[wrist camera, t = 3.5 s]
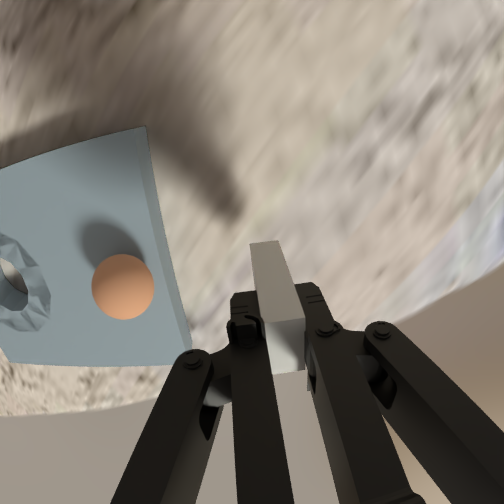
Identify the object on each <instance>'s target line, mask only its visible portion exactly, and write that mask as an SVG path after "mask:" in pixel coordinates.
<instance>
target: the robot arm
mask: <svg viewBox="0 0 504 504" xmlns="http://www.w3.org/2000/svg"><path fill="white" fill-rule="evenodd" d="M250 251H251V259H252V268H253V276H254V285H255V291H247V292H239V293H234V295H233V296H232V298H231V300H230V312H231V319H230V320H229V321H228V322H227V326H226V328H227V333H228V338H229V344H228V345H227V346H226V347H225V348H224V349H222V350H220V351H218V352H215V353H213V354H210V355H209V353H207V352H206V351H204V350H200V349H191V350H188V351H185V352H183V353H182V354H180V355H179V356H178V357H177V359H176V360H175V362H174V364H173V367H172V369H171V371H170V373H169V375H168V377H167V379H166V381H165V384H164V386H163V388H162V390H161V392H160V394H159V396H158V399H157V401H156V403H155V405H154V407H153V409H152V412H151V414H150V416H149V418H148V420H147V422H146V425H145V427H144V429H143V431H142V433H141V436H140V438H139V440H138V442H137V444H136V447H135V449H134V451H133V453H132V455H131V458H130V460H129V462H128V464H127V467H126V469H125V471H124V473H123V476H122V478H121V480H120V482H119V485H118V487H117V489H116V492H115V494H114V496H113V498H112V501H111V503H110V504H195V503H196V499H197V496H198V493H199V489H200V486H201V482H202V479H203V476H204V473H205V469H206V466H207V462H208V459H209V456H210V452H211V449H212V445H213V442H214V439H215V435H216V432H217V428H218V425H219V421H220V418H221V414H222V411H223V407H224V404H227V403H229V402H232V414H233V433H234V453H235V469H236V486H237V501H238V504H294V499H293V493H292V488H291V481H290V475H289V469H288V464H287V459H286V452H285V446H284V440H283V434H282V429H281V423H280V417H279V411H278V405H277V400H276V393H275V388H274V382H273V376H272V375H273V374H279V373H286V372H293V371H299V370H305V362H306V366H307V369H308V382H307V391H310V390H311V394H312V398H313V402H314V405H315V409H316V413H317V417H318V420H319V424H320V428H321V432H322V436H323V440H324V444H325V448H326V452H327V456H328V459H329V463H330V467H331V471H332V475H333V479H334V483H335V487H336V492H337V496H338V500H339V503H340V504H426V503H425V501H424V499H423V498H422V497H421V496H420V495H418V494H416V493H414V492H413V491H412V489H411V487H410V485H409V482H408V480H407V477H406V475H405V472H404V469H403V467H402V464H401V461H400V459H399V457H398V454H397V451H396V449H395V446H394V444H393V441H392V439H391V436H390V434H389V432H388V429H387V426H386V424H385V422H384V419H383V417H384V418H385V419H386V420H387V422H388V423H389V424H390V426H391V427H392V428H393V429H394V431H395V432H396V433H397V434H398V436H399V437H400V438H401V440H402V441H403V442H404V443H405V445H406V446H407V447H408V449H409V450H410V451H411V452H412V454H413V455H414V456H415V457H416V459H417V460H418V461H419V463H420V464H421V465H422V466H423V468H424V469H425V470H426V472H427V473H428V474H429V475H430V477H431V478H432V479H433V481H434V482H435V483H436V485H437V486H438V487H439V488H440V490H441V491H442V492H443V493H444V494H445V496H446V497H447V499H448V500H449V501H450V503H451V504H504V432H503V431H502V430H501V429H500V428H499V427H498V426H497V425H496V424H495V423H494V422H493V421H492V420H491V419H490V418H489V417H488V416H487V415H486V414H485V413H484V412H483V411H482V410H481V409H480V408H479V407H478V406H477V405H476V404H475V403H474V402H473V401H472V400H471V399H470V398H469V396H467V394H466V393H464V392H463V391H462V390H461V389H460V388H459V387H458V386H457V385H456V384H455V383H454V382H453V381H452V380H451V379H450V378H449V377H448V376H447V375H446V374H445V373H444V372H443V371H442V370H441V369H440V368H439V367H438V366H437V365H436V364H435V363H434V362H433V361H432V360H431V359H430V358H429V357H428V356H427V355H425V354H424V353H423V352H422V351H421V350H420V349H419V348H418V347H417V346H416V345H415V344H414V343H413V342H412V341H411V340H410V339H408V337H406V336H405V335H404V334H403V333H402V332H401V331H400V330H399V329H398V328H397V327H396V326H394V325H393V324H391V323H388V322H385V321H377V322H373V323H371V324H369V325H368V326H367V327H366V329H365V331H350V330H346V329H344V328H343V327H342V326H341V324H340V323H338V322H336V321H334V319H333V317H332V315H331V312H330V310H329V308H328V306H327V304H326V301H325V299H324V297H323V296H322V293H321V291H320V289H319V287H318V286H316V285H315V284H314V283H312V282H308V283H301V284H294V283H293V280H292V278H291V275H290V272H289V269H288V266H287V264H286V261H285V258H284V255H283V252H282V250H281V247H280V244H279V241H278V240H276V241H268V242H260V243H252V244H250ZM382 415H383V417H382Z"/></svg>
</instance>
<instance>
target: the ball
mask: <svg viewBox="0 0 504 504" xmlns="http://www.w3.org/2000/svg"><path fill="white" fill-rule="evenodd" d="M91 290H92V295H93V298H94V300H95V303H96V304H97V306H98V307H99V308H100V309H101V310H102V311H103V312H104V313H105V314H107V315H108V316H110V317H112V318H115V319H121V320H126V319H132V318H135V317H137V316H139V315H140V314H142V313H143V312H144V311H145V310H146V309H147V308H148V306H149V305H150V303H151V301H152V299H153V295H154V280H153V277H152V274H151V272H150V270H149V269H148V267H147V266H146V265H145V264H144V263H143V262H142V261H141V260H140V259H138V258H136V257H134V256H131V255H127V254H117V255H113V256H110V257H108V258H106V259H105V260H104V261H102V262H101V263H100V264H99V266H98V267H97V268H96V270H95V272H94V274H93V278H92V283H91Z"/></svg>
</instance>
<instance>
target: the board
mask: <svg viewBox="0 0 504 504" xmlns="http://www.w3.org/2000/svg"><path fill="white" fill-rule="evenodd" d="M117 254H127V255H131V256H134V257H136V258H138V259H140V260H141V261H142V262H143V263H144V264H145V265H146V266H147V267H148V269H149V270H150V272H151V274H152V277H153V280H154V295H153V299H152V301H151V303H150V305H149V306H148V308H147V309H146V310H145V311H144V312H143V313H142V314H140V315H139V316H137V317H135V318H132V319H126V320H121V319H115V318H112V317H110V316H108V315H107V314H105V313H104V312H103V311H102V310H101V309H100V308H99V307H98V306H97V304H96V303H95V300H94V298H93V295H92V290H91V283H92V278H93V274H94V272H95V270H96V268H97V267H98V266H99V264H100V263H101V262H102V261H104V260H105V259H106V258H108V257H110V256H113V255H117ZM0 258H2V259H4V260H6V261H8V262H10V263H11V264H12V265H13V266H14V267H15V268H16V269H17V270H18V272H19V273H20V274H21V275H22V277H23V279H24V282H25V284H26V286H27V289H28V294H25V293H23V292H21V291H19V290H17V289H15V288H14V287H13V286H12V285H11V284H10V283H9V282H8V280H7V279H6V278H5V276H4V273H3V271H2V269H1V266H0V347H1V349H2V351H3V352H4V354H5V355H6V357H7V359H8V360H9V362H12V363H23V364H37V365H55V366H87V367H124V366H157V365H173V364H174V362H175V360H176V359H177V357H178V356H179V355H180V354H182V353H183V352H185V351H188V350H191V349H192V338H191V334H190V331H189V327H188V324H187V320H186V316H185V313H184V309H183V305H182V301H181V298H180V294H179V290H178V286H177V282H176V278H175V274H174V269H173V265H172V261H171V257H170V252H169V248H168V244H167V239H166V235H165V230H164V225H163V221H162V216H161V211H160V206H159V201H158V196H157V190H156V185H155V180H154V174H153V169H152V163H151V157H150V151H149V145H148V138H147V132H146V126H143V127H138V128H134V129H129V130H125V131H120V132H116V133H112V134H108V135H104V136H100V137H96V138H93V139H89V140H85V141H82V142H78V143H75V144H71V145H68V146H65V147H61V148H58V149H55V150H52V151H49V152H46V153H43V154H40V155H37V156H34V157H31V158H28V159H25V160H23V161H20V162H17V163H15V164H12V165H9V166H7V167H4V168H2V169H0Z"/></svg>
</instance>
